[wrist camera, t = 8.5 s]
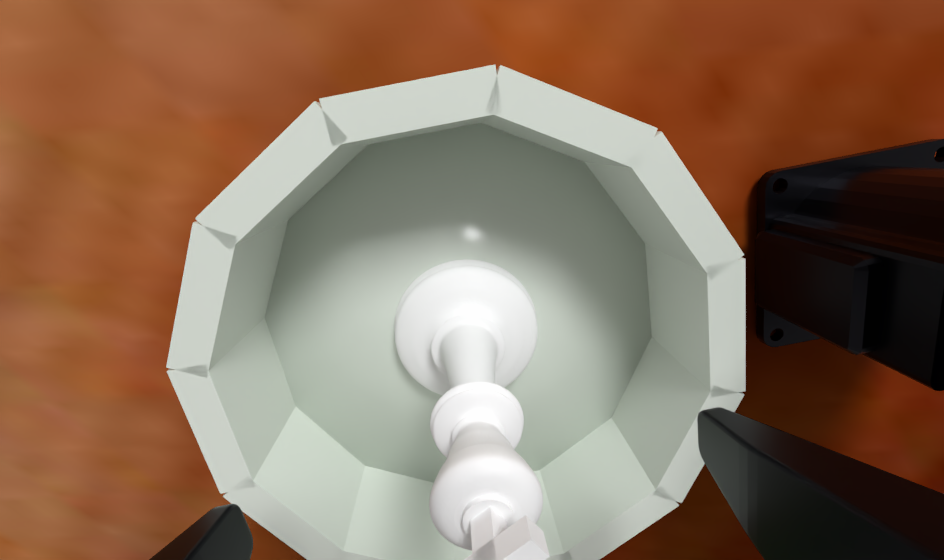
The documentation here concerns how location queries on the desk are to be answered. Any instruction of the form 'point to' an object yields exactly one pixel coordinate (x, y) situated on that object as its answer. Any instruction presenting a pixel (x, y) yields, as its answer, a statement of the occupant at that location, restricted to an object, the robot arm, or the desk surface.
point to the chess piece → (475, 403)
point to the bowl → (423, 247)
